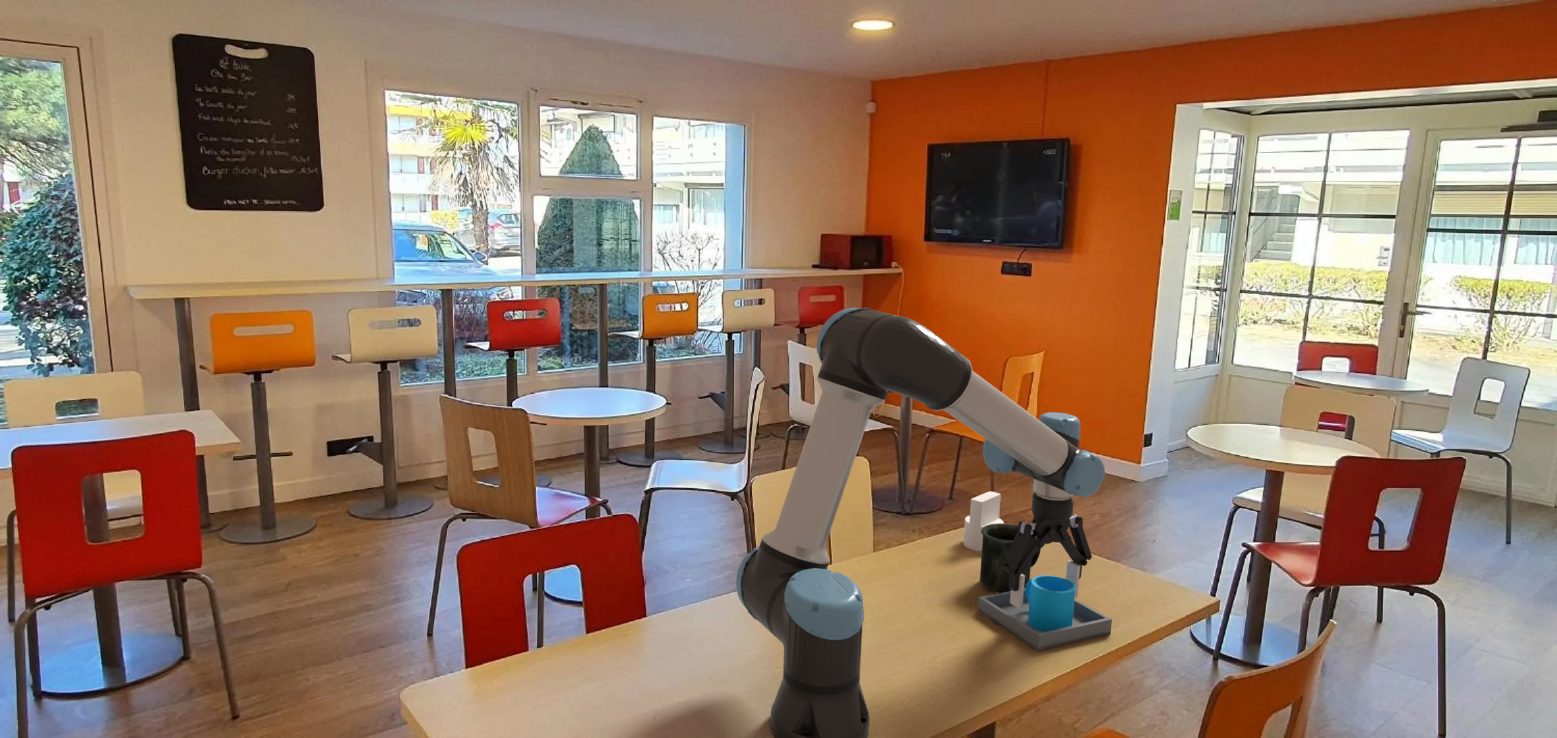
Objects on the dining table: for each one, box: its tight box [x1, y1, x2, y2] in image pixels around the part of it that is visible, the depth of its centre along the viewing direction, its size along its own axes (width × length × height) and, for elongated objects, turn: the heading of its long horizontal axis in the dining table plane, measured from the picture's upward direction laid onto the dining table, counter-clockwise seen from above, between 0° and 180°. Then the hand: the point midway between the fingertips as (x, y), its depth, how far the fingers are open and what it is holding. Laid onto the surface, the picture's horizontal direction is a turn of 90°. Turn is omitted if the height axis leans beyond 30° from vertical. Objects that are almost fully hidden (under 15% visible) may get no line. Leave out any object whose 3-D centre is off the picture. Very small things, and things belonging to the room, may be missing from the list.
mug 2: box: [1025, 574, 1076, 632], centre depth 178 cm, size 12×8×8 cm
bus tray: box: [977, 588, 1113, 652], centre depth 178 cm, size 18×18×3 cm
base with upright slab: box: [962, 491, 1005, 553], centre depth 217 cm, size 9×9×12 cm
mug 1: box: [979, 522, 1042, 594], centre depth 195 cm, size 11×15×12 cm
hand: (1043, 600), depth 178 cm, fingers open, 13 cm apart
